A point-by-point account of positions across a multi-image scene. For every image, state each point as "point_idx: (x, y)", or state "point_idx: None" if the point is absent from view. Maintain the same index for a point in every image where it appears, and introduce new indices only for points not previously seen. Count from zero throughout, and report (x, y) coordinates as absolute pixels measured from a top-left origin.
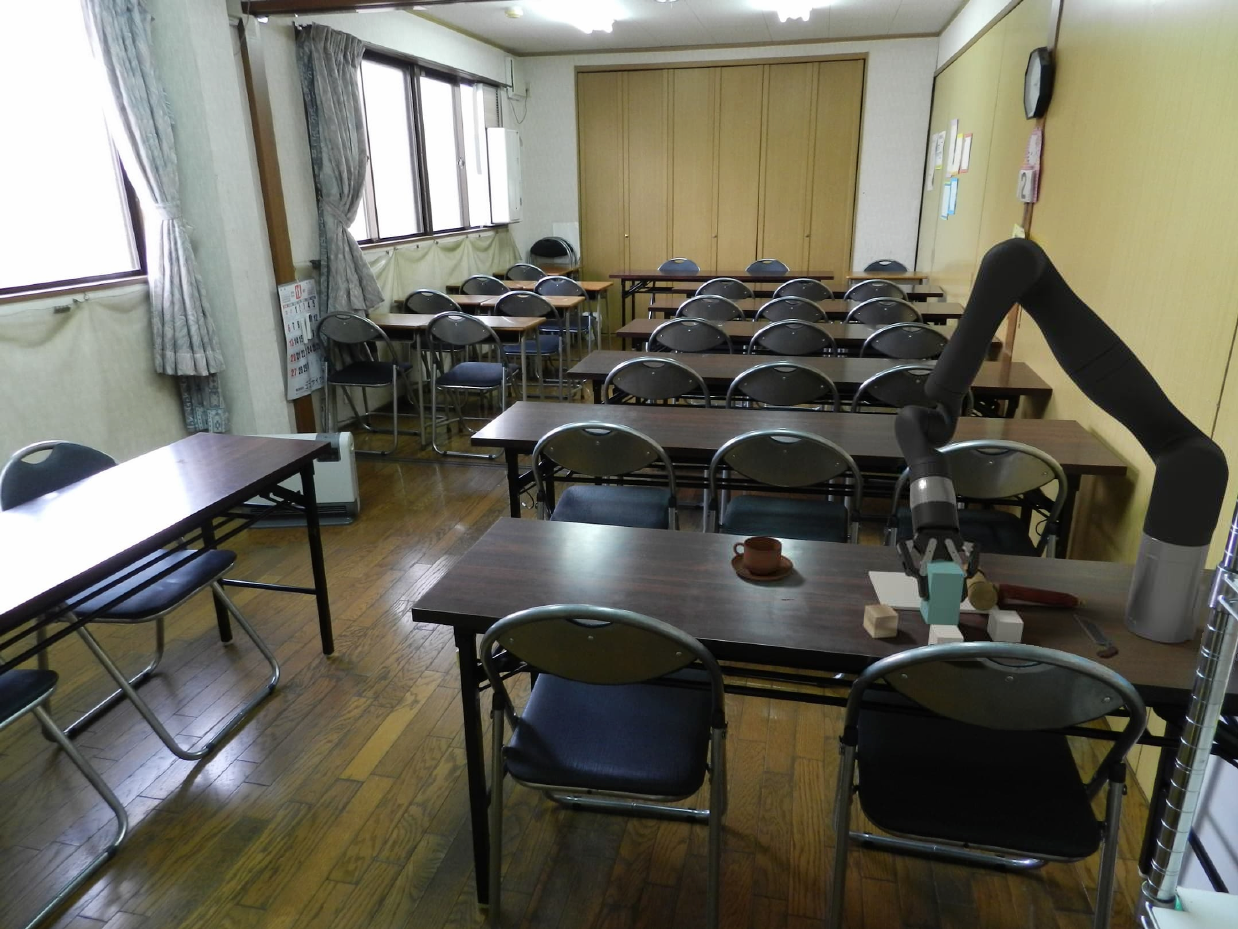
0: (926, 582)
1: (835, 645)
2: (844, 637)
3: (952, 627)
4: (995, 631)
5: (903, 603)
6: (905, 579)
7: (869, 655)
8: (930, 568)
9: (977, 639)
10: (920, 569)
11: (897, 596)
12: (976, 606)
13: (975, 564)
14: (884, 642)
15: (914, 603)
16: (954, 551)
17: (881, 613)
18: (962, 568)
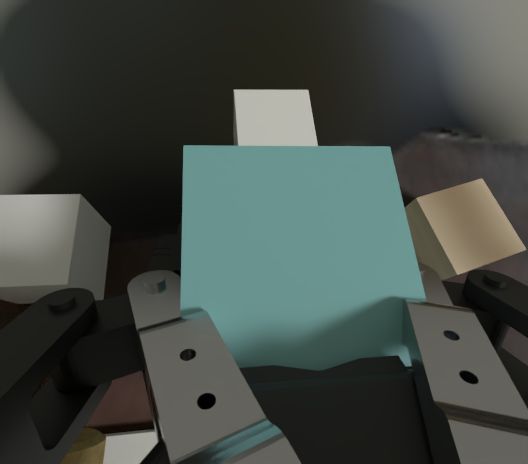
0: None
1: (516, 166)
2: (504, 204)
3: (253, 142)
4: (97, 217)
5: None
6: None
7: (438, 135)
8: (401, 209)
9: (155, 239)
10: (440, 282)
11: None
12: (83, 429)
13: (10, 347)
14: (409, 192)
15: None
16: (189, 411)
17: (468, 203)
18: (146, 311)
